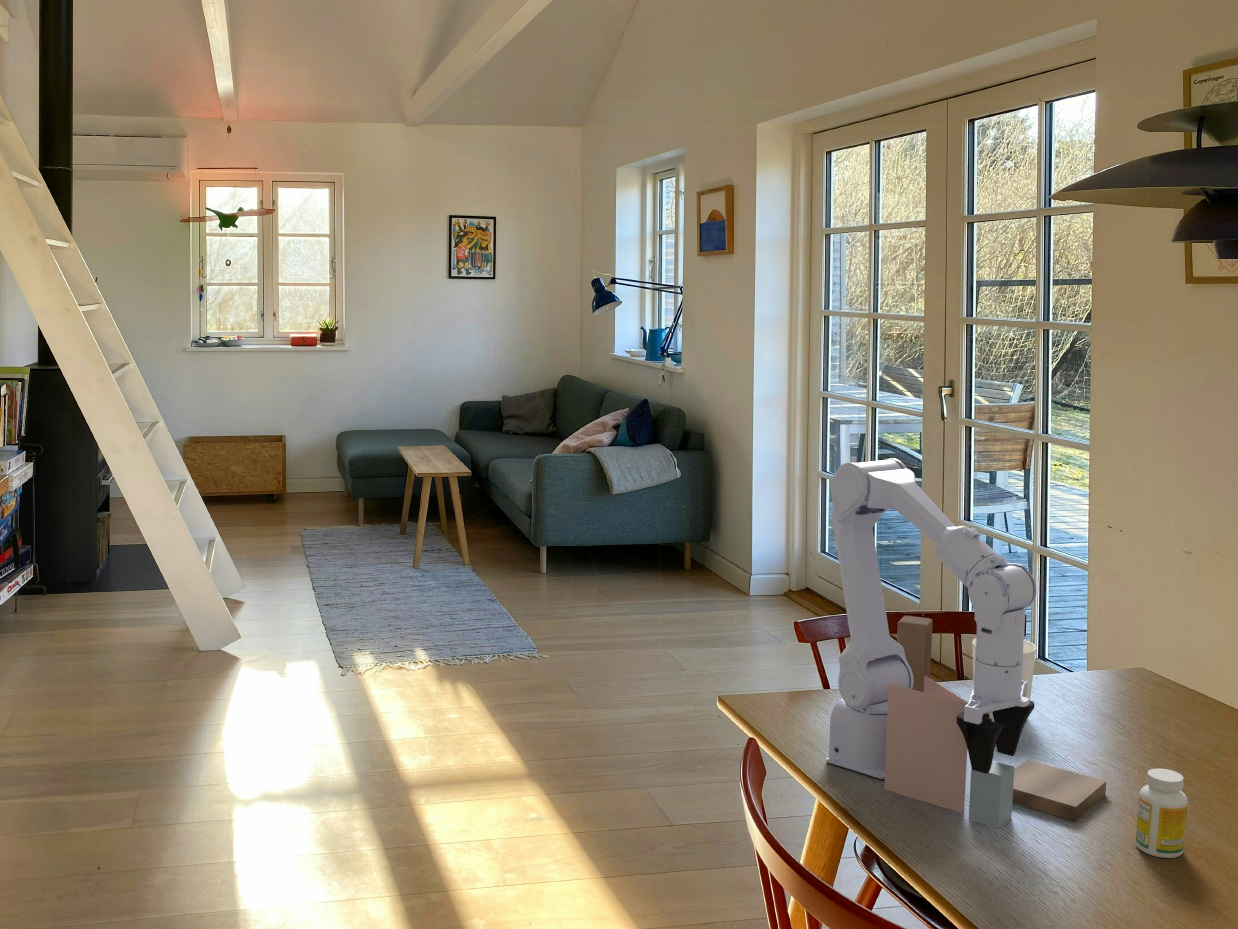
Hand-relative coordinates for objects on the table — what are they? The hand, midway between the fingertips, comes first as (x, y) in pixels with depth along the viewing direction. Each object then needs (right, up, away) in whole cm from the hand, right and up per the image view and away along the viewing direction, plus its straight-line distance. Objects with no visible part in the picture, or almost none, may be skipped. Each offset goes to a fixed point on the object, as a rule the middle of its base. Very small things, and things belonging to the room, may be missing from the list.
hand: (993, 762), depth 149 cm
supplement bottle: (+18, -9, -7) cm, 21 cm away
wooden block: (-1, -4, +30) cm, 30 cm away
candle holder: (+14, -3, +38) cm, 41 cm away
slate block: (0, -8, +1) cm, 8 cm away
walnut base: (+10, -7, +8) cm, 14 cm away
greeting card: (-7, -7, +7) cm, 12 cm away
